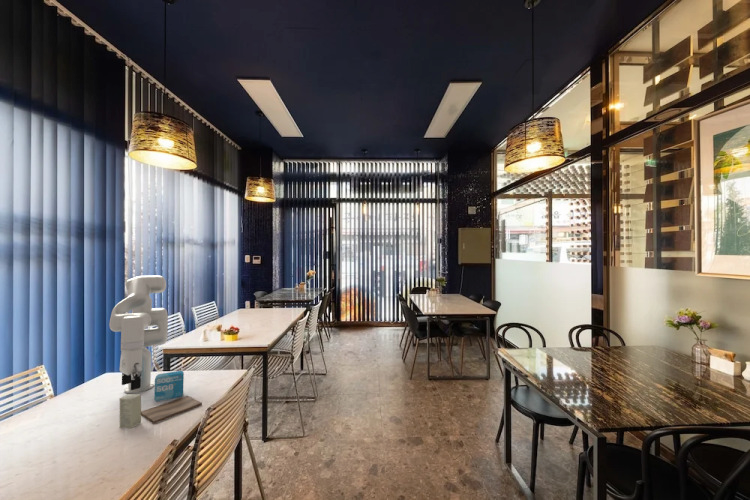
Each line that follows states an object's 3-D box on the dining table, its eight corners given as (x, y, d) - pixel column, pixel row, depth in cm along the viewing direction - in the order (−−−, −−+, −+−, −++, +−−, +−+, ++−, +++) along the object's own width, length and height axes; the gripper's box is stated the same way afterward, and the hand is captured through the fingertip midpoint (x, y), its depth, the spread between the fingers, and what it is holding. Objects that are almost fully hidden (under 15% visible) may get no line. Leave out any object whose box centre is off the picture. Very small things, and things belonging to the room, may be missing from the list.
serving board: (140, 414, 136) (140, 411, 136) (187, 397, 153) (187, 395, 153) (153, 423, 129) (153, 421, 129) (201, 405, 145) (201, 402, 145)
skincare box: (141, 423, 129) (142, 394, 130) (131, 428, 125) (132, 398, 125) (127, 422, 130) (128, 393, 130) (118, 427, 126) (119, 398, 126)
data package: (154, 402, 148) (154, 377, 149) (154, 398, 152) (155, 374, 152) (183, 396, 155) (183, 372, 155) (183, 393, 158) (183, 370, 159)
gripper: (113, 344, 130) (112, 385, 129) (129, 350, 121) (127, 394, 120) (134, 340, 136) (133, 379, 135) (151, 346, 127) (150, 387, 126)
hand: (130, 386), depth 128 cm, fingers open, 9 cm apart
